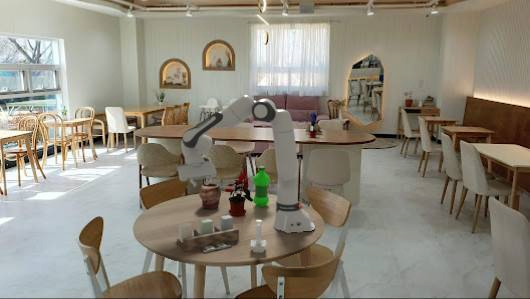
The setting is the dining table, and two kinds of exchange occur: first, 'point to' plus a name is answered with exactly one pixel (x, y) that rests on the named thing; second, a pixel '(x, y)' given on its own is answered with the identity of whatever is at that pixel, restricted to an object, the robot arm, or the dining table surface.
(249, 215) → the dining table surface
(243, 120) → the robot arm
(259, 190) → the plastic bottle
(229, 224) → the pale blue upright block
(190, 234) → the cream rectangular block
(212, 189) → the decorative planter
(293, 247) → the dining table surface
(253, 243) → the white upright post stand
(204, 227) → the sage key
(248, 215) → the dining table surface
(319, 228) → the dining table surface
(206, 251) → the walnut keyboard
